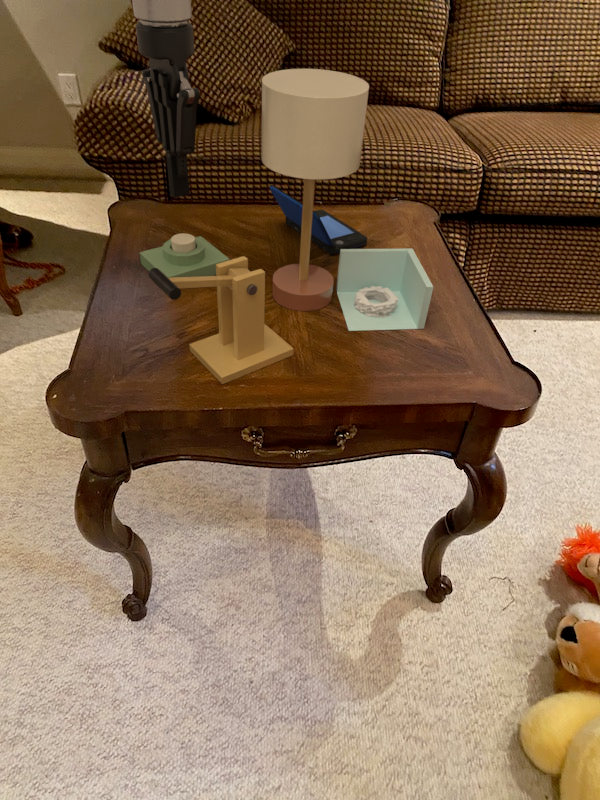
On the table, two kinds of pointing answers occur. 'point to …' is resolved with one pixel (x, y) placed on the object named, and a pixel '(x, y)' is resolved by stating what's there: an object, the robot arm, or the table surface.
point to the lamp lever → (192, 281)
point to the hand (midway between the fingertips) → (180, 194)
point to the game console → (319, 225)
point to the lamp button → (183, 243)
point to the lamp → (310, 158)
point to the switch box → (184, 260)
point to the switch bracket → (240, 328)
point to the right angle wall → (383, 289)
